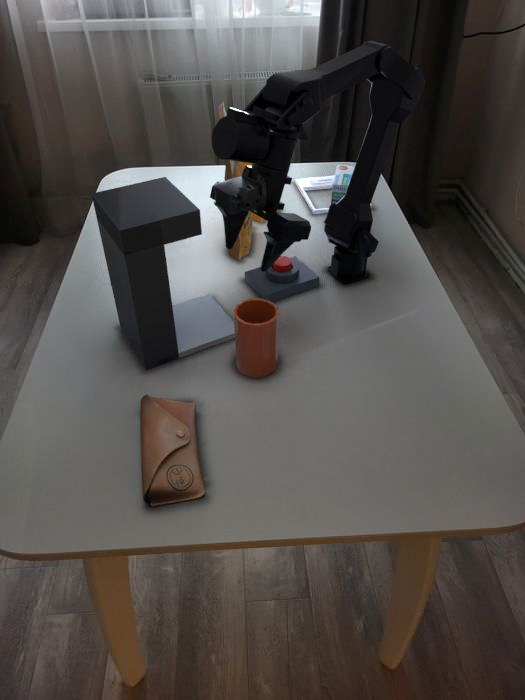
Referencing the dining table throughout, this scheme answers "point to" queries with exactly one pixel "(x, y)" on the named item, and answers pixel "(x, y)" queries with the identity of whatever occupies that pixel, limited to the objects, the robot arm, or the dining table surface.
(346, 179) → the light bulb box
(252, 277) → the pad
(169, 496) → the sunglasses case
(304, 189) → the photo frame
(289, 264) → the button
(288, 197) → the dining table surface
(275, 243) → the robot arm
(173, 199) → the coffee maker
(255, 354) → the tumbler
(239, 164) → the pancake mix bag
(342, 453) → the dining table surface
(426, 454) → the dining table surface
